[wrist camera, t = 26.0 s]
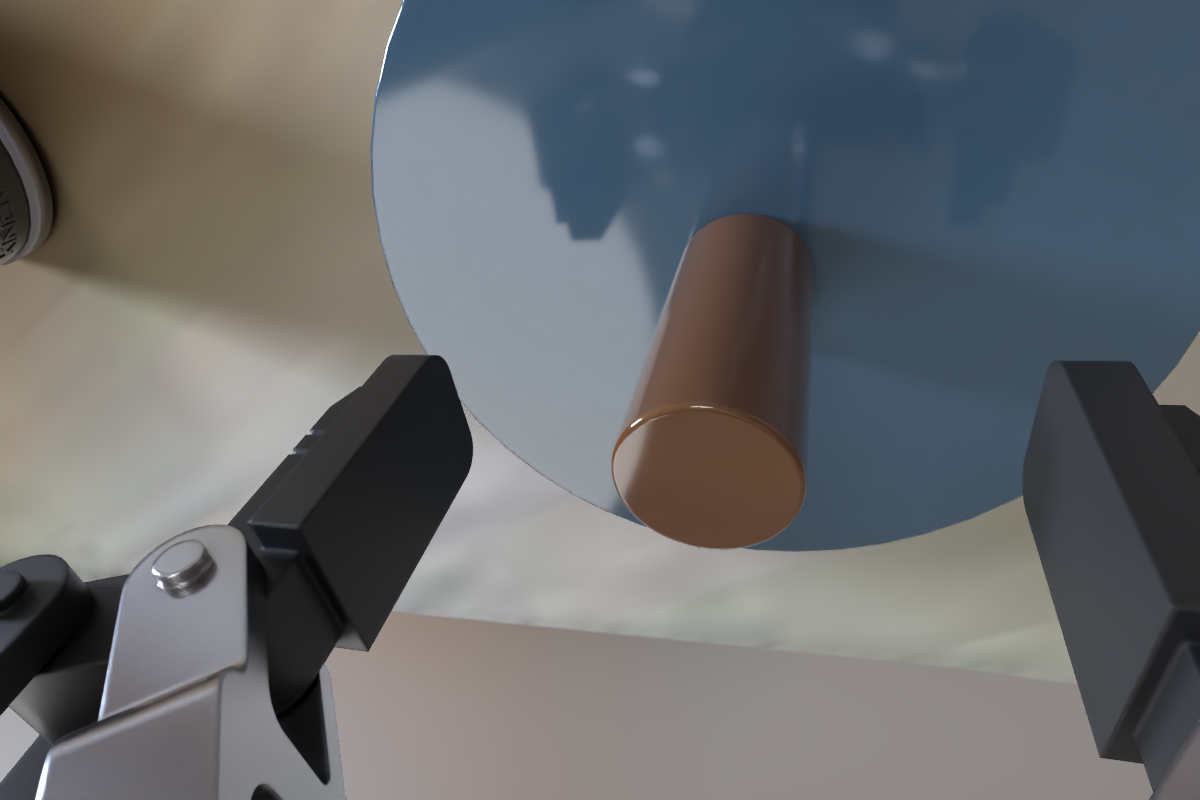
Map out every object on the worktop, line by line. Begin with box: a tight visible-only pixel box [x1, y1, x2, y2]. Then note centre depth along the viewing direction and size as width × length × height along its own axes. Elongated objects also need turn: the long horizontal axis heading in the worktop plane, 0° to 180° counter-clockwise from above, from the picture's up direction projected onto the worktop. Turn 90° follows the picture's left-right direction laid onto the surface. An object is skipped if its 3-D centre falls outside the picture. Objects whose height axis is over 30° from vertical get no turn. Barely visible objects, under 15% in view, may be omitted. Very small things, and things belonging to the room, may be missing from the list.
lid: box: [371, 0, 1200, 552], centre depth 11 cm, size 15×15×7 cm
